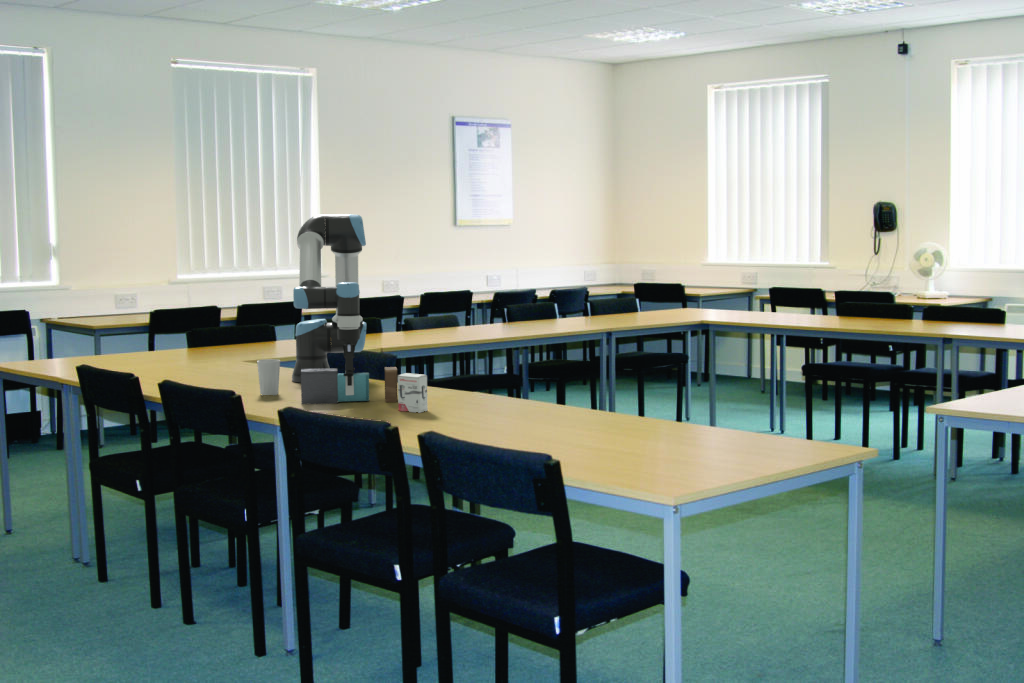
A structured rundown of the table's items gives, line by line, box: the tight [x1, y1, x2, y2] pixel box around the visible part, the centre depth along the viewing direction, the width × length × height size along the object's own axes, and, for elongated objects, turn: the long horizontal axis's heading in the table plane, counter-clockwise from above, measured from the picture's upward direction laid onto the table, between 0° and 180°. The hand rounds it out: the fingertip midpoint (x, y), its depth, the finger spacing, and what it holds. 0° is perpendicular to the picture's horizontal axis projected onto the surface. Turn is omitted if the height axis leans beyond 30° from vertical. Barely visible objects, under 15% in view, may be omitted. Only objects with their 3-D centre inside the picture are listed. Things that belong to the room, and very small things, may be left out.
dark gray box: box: [300, 367, 339, 405], centre depth 367 cm, size 7×12×11 cm, turn 99°
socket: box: [384, 366, 398, 403], centre depth 371 cm, size 7×4×11 cm, turn 9°
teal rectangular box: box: [337, 372, 370, 402], centre depth 368 cm, size 4×22×9 cm, turn 99°
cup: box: [256, 358, 281, 396], centre depth 384 cm, size 8×8×12 cm
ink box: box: [397, 372, 429, 414], centre depth 350 cm, size 9×5×12 cm, turn 62°
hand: (349, 392), depth 369 cm, fingers open, 11 cm apart
